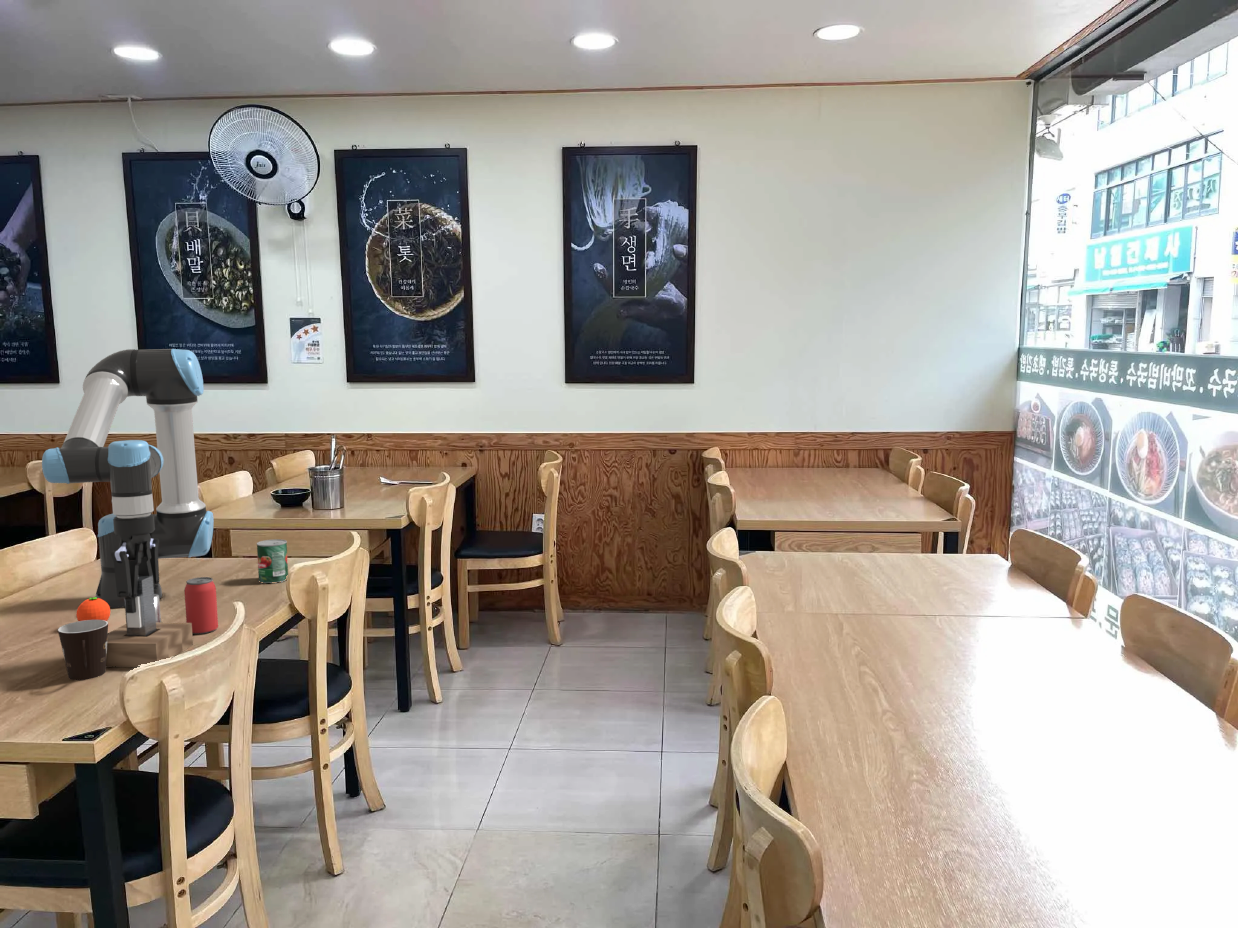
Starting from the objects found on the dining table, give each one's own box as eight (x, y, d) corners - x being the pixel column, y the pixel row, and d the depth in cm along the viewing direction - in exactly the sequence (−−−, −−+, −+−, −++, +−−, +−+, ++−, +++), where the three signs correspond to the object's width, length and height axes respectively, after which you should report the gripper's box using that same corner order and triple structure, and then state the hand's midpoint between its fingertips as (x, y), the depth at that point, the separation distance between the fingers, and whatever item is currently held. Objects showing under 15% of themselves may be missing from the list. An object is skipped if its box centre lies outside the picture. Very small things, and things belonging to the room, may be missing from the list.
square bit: (138, 629, 191) (134, 575, 190) (156, 630, 191) (152, 575, 190) (127, 635, 187) (123, 580, 186) (145, 636, 187) (141, 580, 186)
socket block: (131, 643, 197) (129, 622, 197) (193, 644, 197) (191, 622, 196) (91, 666, 183) (89, 642, 183) (157, 667, 183) (155, 643, 182)
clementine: (80, 623, 212) (78, 594, 211) (113, 620, 215) (111, 591, 214) (75, 633, 205) (72, 603, 204) (109, 629, 208) (107, 599, 207)
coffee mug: (75, 667, 183) (71, 620, 181) (119, 666, 183) (116, 619, 182) (44, 688, 171) (40, 638, 170) (91, 687, 172) (87, 637, 171)
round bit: (148, 636, 202) (145, 593, 201) (165, 637, 202) (162, 594, 201) (138, 642, 198) (134, 598, 197) (155, 642, 198) (152, 599, 197)
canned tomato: (252, 582, 249) (250, 544, 247) (271, 576, 256) (269, 538, 255) (276, 584, 246) (274, 545, 245) (294, 578, 254) (292, 540, 253)
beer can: (198, 636, 202) (194, 585, 201) (181, 631, 206) (177, 581, 204) (224, 629, 208) (221, 578, 206) (207, 624, 211) (204, 575, 210)
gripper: (139, 507, 195) (147, 611, 198) (90, 522, 178) (99, 636, 181) (173, 507, 194) (180, 612, 197) (126, 522, 177) (135, 636, 180)
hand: (141, 623), depth 189 cm, fingers closed on square bit, 4 cm apart
